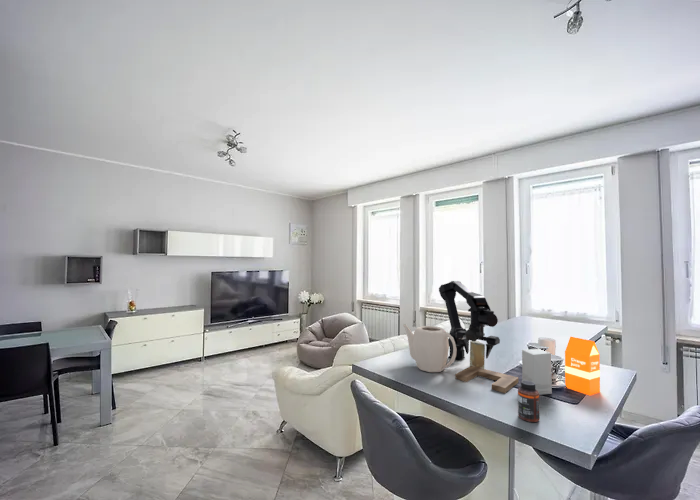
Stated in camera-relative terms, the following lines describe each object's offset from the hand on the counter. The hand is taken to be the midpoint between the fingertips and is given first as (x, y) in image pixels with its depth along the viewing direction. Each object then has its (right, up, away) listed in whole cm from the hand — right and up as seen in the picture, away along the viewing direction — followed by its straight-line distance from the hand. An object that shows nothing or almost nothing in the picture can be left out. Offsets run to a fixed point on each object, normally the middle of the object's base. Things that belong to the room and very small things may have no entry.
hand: (476, 355), depth 146 cm
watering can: (-23, -6, -1) cm, 24 cm away
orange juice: (+33, -6, -23) cm, 40 cm away
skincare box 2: (+13, -5, -26) cm, 29 cm away
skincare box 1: (0, -6, 0) cm, 6 cm away
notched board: (-2, -5, -15) cm, 16 cm away
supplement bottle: (-3, -4, -47) cm, 47 cm away
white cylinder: (+31, -7, -3) cm, 32 cm away
